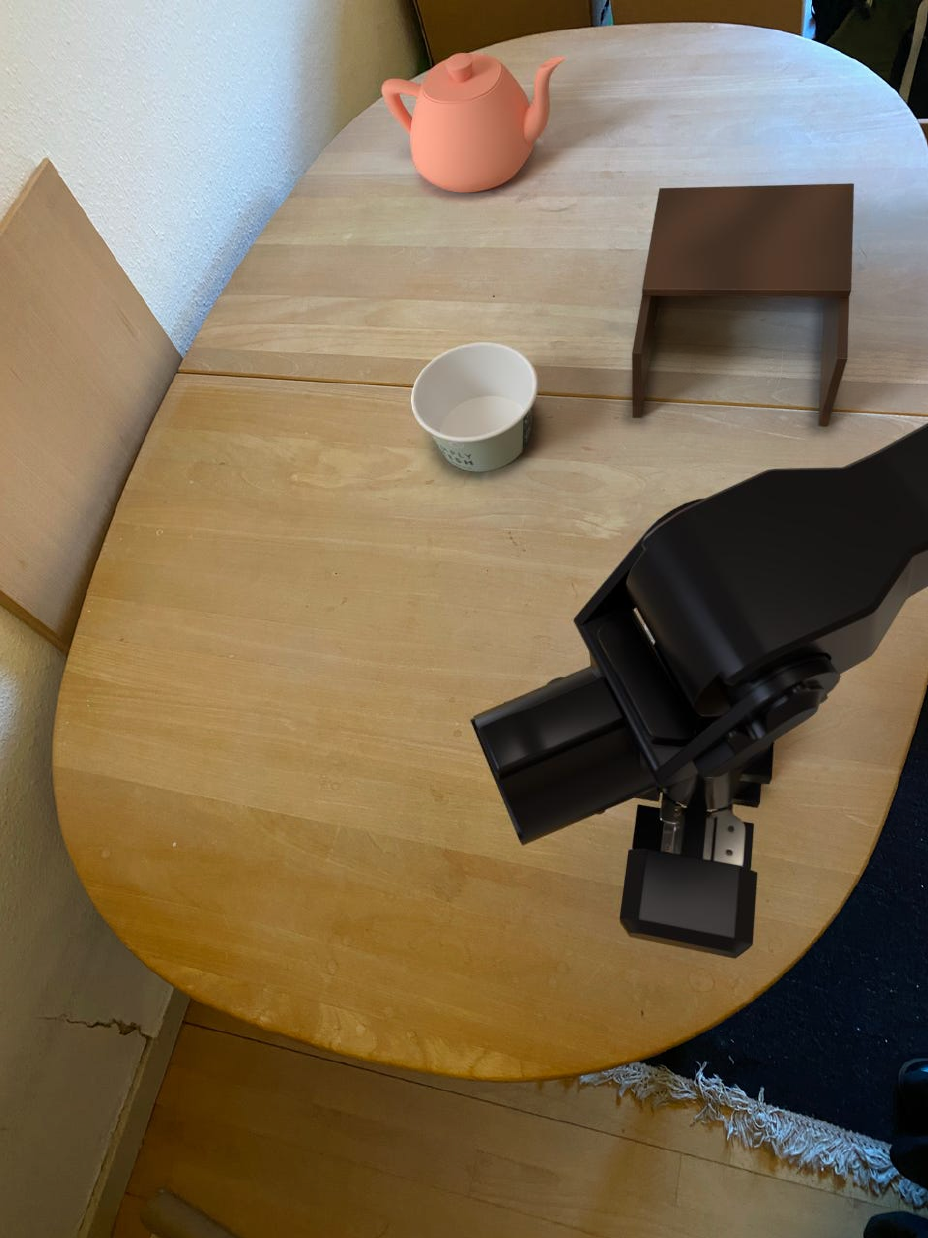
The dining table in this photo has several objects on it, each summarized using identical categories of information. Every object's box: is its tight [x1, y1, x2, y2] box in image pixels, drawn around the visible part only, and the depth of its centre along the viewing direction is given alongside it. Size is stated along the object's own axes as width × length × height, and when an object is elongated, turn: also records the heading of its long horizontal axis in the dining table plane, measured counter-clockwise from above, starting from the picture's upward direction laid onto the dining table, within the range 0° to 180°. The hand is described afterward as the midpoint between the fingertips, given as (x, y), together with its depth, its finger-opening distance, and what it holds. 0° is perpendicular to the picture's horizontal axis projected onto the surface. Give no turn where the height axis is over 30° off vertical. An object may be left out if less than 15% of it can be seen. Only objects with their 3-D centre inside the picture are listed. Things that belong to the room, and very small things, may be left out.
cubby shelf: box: [631, 182, 855, 427], centre depth 79 cm, size 18×21×9 cm
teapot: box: [381, 52, 565, 193], centre depth 98 cm, size 22×15×12 cm
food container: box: [410, 341, 539, 473], centre depth 80 cm, size 12×12×6 cm
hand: (692, 802), depth 51 cm, fingers open, 4 cm apart
